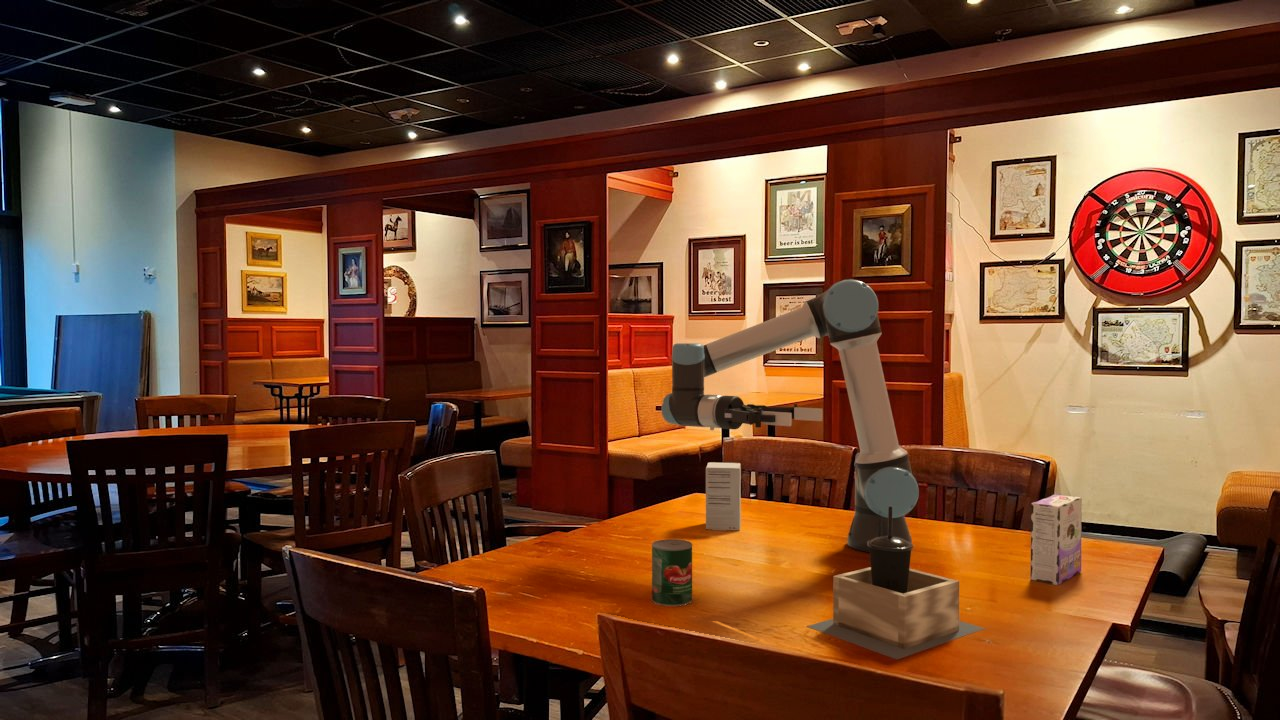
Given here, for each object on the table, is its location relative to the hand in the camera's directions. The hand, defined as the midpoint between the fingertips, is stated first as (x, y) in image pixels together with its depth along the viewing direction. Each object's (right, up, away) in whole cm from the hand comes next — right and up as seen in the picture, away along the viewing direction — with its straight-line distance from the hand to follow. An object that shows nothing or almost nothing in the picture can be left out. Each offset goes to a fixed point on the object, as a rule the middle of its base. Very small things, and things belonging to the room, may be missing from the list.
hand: (806, 417), depth 179 cm
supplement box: (-13, -33, +50) cm, 61 cm away
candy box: (+53, -34, +1) cm, 63 cm away
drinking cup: (+8, -34, -31) cm, 47 cm away
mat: (+9, -35, -32) cm, 48 cm away
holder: (+9, -34, -32) cm, 48 cm away
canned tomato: (-29, -35, -15) cm, 48 cm away
